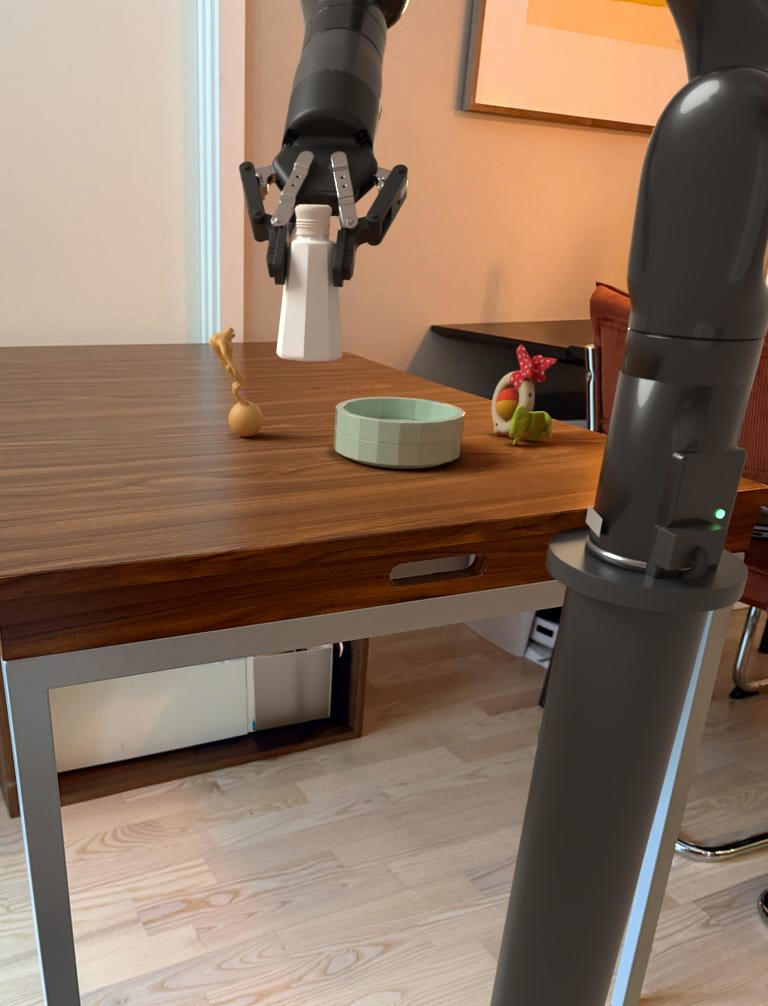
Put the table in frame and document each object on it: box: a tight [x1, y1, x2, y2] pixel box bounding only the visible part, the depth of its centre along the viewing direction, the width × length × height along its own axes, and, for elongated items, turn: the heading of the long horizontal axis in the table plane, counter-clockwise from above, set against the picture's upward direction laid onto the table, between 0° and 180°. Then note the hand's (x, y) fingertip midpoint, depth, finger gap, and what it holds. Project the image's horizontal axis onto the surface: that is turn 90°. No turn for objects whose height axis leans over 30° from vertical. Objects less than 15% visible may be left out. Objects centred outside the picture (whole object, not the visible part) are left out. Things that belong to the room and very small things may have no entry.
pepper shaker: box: [275, 204, 343, 362], centre depth 68 cm, size 5×5×11 cm
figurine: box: [209, 326, 264, 438], centre depth 98 cm, size 8×6×12 cm
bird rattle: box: [491, 344, 558, 446], centre depth 101 cm, size 6×11×9 cm
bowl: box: [333, 396, 466, 470], centre depth 93 cm, size 14×14×5 cm
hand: (308, 277), depth 66 cm, fingers closed on pepper shaker, 4 cm apart
